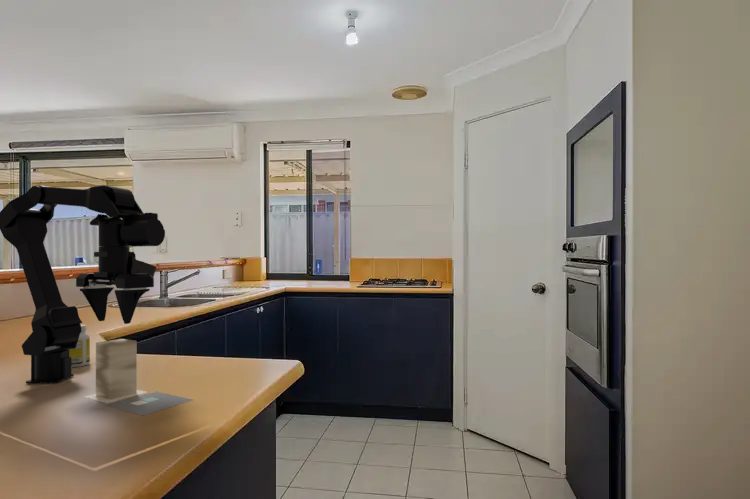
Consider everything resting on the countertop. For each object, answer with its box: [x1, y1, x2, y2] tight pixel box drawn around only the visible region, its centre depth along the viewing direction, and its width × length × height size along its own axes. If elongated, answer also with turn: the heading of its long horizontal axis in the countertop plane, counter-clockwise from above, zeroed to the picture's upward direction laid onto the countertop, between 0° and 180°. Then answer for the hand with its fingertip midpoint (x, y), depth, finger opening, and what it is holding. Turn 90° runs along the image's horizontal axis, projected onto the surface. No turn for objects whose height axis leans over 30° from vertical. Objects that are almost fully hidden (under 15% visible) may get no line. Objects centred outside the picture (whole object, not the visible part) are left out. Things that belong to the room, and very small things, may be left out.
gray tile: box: [104, 391, 194, 416], centre depth 85 cm, size 11×10×1 cm
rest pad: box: [83, 389, 149, 404], centre depth 91 cm, size 8×8×1 cm
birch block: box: [95, 338, 138, 400], centre depth 91 cm, size 5×5×10 cm
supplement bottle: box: [68, 324, 91, 368], centre depth 118 cm, size 5×5×10 cm
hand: (114, 322), depth 99 cm, fingers open, 9 cm apart
